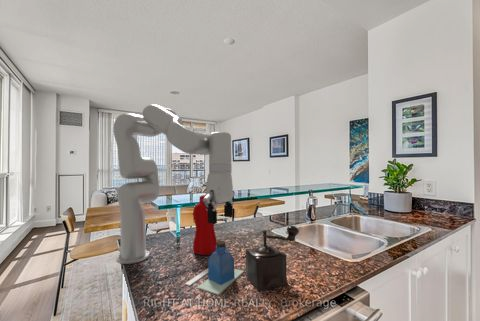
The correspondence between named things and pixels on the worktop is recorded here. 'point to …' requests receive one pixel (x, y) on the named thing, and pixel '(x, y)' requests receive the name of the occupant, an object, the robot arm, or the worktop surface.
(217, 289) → the mat
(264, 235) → the dark brown coffee grinder
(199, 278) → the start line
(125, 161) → the robot arm
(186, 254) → the worktop surface
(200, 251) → the water bottle
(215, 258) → the perfume bottle
